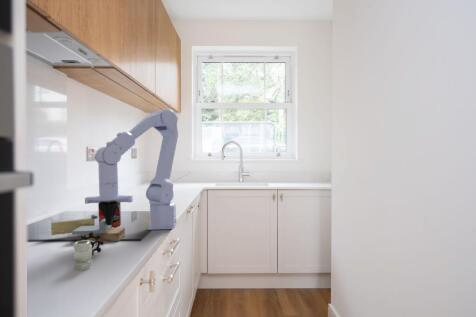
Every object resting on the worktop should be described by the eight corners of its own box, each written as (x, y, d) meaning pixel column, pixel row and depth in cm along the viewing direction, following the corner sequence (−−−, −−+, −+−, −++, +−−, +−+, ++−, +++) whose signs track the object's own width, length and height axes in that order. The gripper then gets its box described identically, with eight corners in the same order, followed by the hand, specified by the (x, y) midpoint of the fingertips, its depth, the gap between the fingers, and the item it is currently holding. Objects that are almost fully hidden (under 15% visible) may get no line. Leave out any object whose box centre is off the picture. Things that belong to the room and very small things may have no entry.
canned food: (116, 228, 114) (115, 199, 114) (95, 228, 114) (94, 199, 114) (124, 223, 122) (123, 195, 121) (104, 223, 122) (103, 196, 121)
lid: (111, 227, 104) (111, 217, 104) (104, 233, 97) (104, 222, 97) (81, 228, 103) (80, 218, 103) (72, 234, 97) (71, 223, 96)
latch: (97, 229, 107) (97, 215, 107) (51, 235, 101) (50, 220, 100) (97, 228, 108) (97, 214, 108) (52, 233, 102) (51, 219, 102)
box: (125, 235, 105) (124, 227, 105) (118, 241, 98) (118, 233, 98) (94, 236, 104) (94, 228, 104) (86, 242, 97) (86, 234, 97)
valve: (95, 270, 75) (104, 253, 86) (94, 243, 74) (104, 230, 86) (65, 273, 73) (79, 256, 85) (65, 245, 73) (78, 232, 85)
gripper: (80, 185, 95) (81, 228, 95) (128, 184, 96) (129, 226, 97) (89, 182, 102) (90, 223, 102) (133, 181, 103) (134, 221, 104)
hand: (109, 224), depth 100 cm, fingers closed
